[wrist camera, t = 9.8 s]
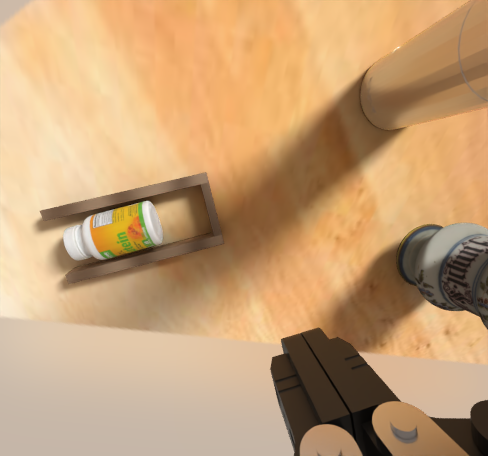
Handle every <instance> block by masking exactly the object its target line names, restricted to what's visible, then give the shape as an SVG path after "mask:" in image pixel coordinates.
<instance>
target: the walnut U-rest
mask: <svg viewBox="0 0 488 456" xmlns="http://www.w3.org/2000/svg"><path fill="white" fill-rule="evenodd" d="M200 184H201V188H202V192H203V196H204V200H205V203H206V207H207V211H208V215H209V219H210V223H211V227H212V230H213V233H209V234H205V235H201V236H197V237H193V238H189V239H186V240H182V241H178V242H174V243H170V244H166V245H162V246H158V247H154V248H150V249H146V250H142V251H138V252H134V253H130V254H127V255H123V256H119V257H115V258H111V259H107V260H103V261H99V262H95V263H91V264H87V265H83V266H79V267H75V268H74V269H73V270H71V271H70V272H68V273H67V274H66V275H65V276H66V278H67V281H68V283H69V284H71V283H75V282H79V281H82V280H86V279H90V278H94V277H98V276H102V275H105V274H109V273H113V272H117V271H121V270H125V269H129V268H132V267H136V266H140V265H144V264H148V263H152V262H156V261H159V260H163V259H167V258H171V257H175V256H179V255H183V254H186V253H190V252H194V251H198V250H202V249H206V248H210V247H213V246H217V245H221V244H224V241H223V237H222V233H221V229H220V225H219V221H218V217H217V213H216V209H215V205H214V201H213V197H212V193H211V189H210V185H209V181H208V177H207V173H201V174H197V175H193V176H188V177H184V178H180V179H175V180H171V181H167V182H162V183H158V184H154V185H149V186H145V187H141V188H136V189H132V190H128V191H124V192H119V193H115V194H111V195H106V196H102V197H98V198H93V199H89V200H85V201H80V202H76V203H72V204H67V205H63V206H59V207H54V208H50V209H46V210H41V211H40V213H41V215H42V218H43V220H44V221H47V220H51V219H55V218H59V217H64V216H68V215H72V214H76V213H81V212H85V211H89V210H93V209H98V208H102V207H106V206H110V205H115V204H119V203H123V202H127V201H132V200H136V199H140V198H144V197H149V196H153V195H157V194H161V193H166V192H170V191H174V190H178V189H183V188H187V187H191V186H195V185H200Z"/></svg>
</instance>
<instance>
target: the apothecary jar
mask: <svg viewBox="0 0 488 456" xmlns="http://www.w3.org/2000/svg"><path fill="white" fill-rule="evenodd" d="M397 267H398V271H399V273H400V275H401V276H402V278H403V279H404V280H405V281H406V282H408V283H410V284H412V285H415V286H417V287H418V289H419V291H420V293H421V294H422V295H423V297H424V298H425V299H426V300H427V301H429V302H430V303H431V304H433V305H435V306H437V307H439V308H441V309H444V310H449V311H463V310H466V311H469V312H471V313H473V314H475V315H477V316H479V317H480V318H481V320H482V322H483V323H484V325H485V327H486V328H487V329H488V229H486V228H485V227H483V226H480V225H477V224H472V223H457V224H452V225H449V226H446V227H442V226H439V225H435V224H427V225H423V226H420V227H417V228H416V229H414V230H412V231H411V232H410V233H409V234H408V235H407V236H406V237H405V238H404V239H403V241H402V243H401V244H400V247H399V249H398V253H397Z"/></svg>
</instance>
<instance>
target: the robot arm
mask: <svg viewBox="0 0 488 456" xmlns="http://www.w3.org/2000/svg"><path fill="white" fill-rule="evenodd" d="M360 100H361V105H362V109H363V111H364V114H365V116H366V117H367V118H368V120H369V121H370V122H371V123H372V124H373V125H375V126H377V127H379V128H381V129H385V130H395V129H399V128H403V127H408V126H412V125H416V124H421V123H425V122H429V121H433V120H438V119H442V118H446V117H450V116H454V115H458V114H462V113H467V112H471V111H475V110H479V109H483V108H487V107H488V0H470V1H468V2H467V3H465V4H464V5H462V6H461V7H459V8H458V9H456V10H454V11H453V12H451V13H450V14H448V15H447V16H445V17H444V18H442V19H441V20H439V21H438V22H436V23H435V24H433V25H432V26H430V27H429V28H427V29H426V30H424V31H423V32H421V33H419V34H418V35H416V36H415V37H413V38H412V39H410V40H409V41H407V42H406V43H404V44H403V45H401V46H400V47H398V48H397V49H395V50H393V51H392V52H390V53H389V54H387V55H386V56H384V57H383V58H381V59H380V60H378V61H377V62H376V63H374V64H373V65H372V66H371V68H370V69H369V70H368V71H367V73H366V75H365V77H364V79H363V82H362V85H361V92H360ZM281 343H282V348H283V352H284V354H282V355H278V356H275V357H272V363H271V374H272V378H273V382H274V386H275V390H276V395H277V399H278V403H279V406H280V409H281V412H282V415H283V418H284V421H285V424H286V427H287V430H288V434H289V437H290V439H291V443H292V446H293V448H294V452H295V453H294V456H488V400H485V401H480V402H478V403H476V404H475V405H474V406H473V407H472V409H471V419H456V418H455V419H454V418H453V419H451V418H449V419H448V418H445V419H444V418H433V417H429V416H427V415H426V414H425V413H424V412H423V411H421V410H420V409H418V408H416V407H415V406H412V405H410V404H408V403H404V402H401V401H400V400H399V399H398V398H397V397H396V395H395V394H394V393H393V392H392V391H391V390H390V389H389V387H388V386H387V385H386V384H385V383H384V382H383V381H382V379H381V378H380V377H379V376H378V375H377V374H376V373H375V371H374V370H373V369H372V368H371V367H370V366H369V365H368V364H367V362H366V361H365V360H364V359H363V358H362V357H361V356H360V355H359V353H358V352H357V351H356V350H355V349H354V347H353V346H352V345H351V344H350V343H348V342H346V341H344V340H342V339H340V338H338V337H337V338H333V339H330V340H329V339H328V337H327V336H326V335H325V334H324V332H323V331H322V330H321V329H320V328H316V329H312V330H309V331H306V332H302V333H299V334H296V335H293V336H289V337H286V338H283V339H281Z"/></svg>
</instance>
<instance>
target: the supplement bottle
mask: <svg viewBox="0 0 488 456" xmlns="http://www.w3.org/2000/svg"><path fill="white" fill-rule="evenodd" d="M63 241H64V245H65V248H66V250H67V252H68V254H69V255H70V256H71V257H72V258H73V259H74V260H83V259H87V258H90V257H92V256H94V257H95V258H97V259H101V260H104V259H109V258H113V257H116V256H120V255H123V254H127V253H130V252H134V251H138V250H141V249H145V248H148V247H152V246H156V245H159V244H161V243H162V241H163V231H162V226H161V223H160V220H159V217H158V214H157V212H156V209H155V207H154V205H153V204H152V203H151V202H150V201H144V202H140V203H136V204H132V205H128V206H125V207H121V208H117V209H113V210H109V211H106V212H102V213H98V214H94V215H91V216H89V217H87V218H86V219H85V220H84V222H83V225H76V226H72V227H69V228H67V229H66V230H65V231H64V235H63Z"/></svg>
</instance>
